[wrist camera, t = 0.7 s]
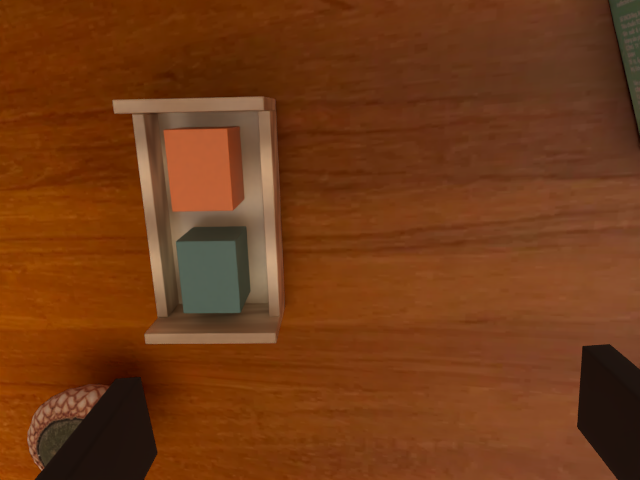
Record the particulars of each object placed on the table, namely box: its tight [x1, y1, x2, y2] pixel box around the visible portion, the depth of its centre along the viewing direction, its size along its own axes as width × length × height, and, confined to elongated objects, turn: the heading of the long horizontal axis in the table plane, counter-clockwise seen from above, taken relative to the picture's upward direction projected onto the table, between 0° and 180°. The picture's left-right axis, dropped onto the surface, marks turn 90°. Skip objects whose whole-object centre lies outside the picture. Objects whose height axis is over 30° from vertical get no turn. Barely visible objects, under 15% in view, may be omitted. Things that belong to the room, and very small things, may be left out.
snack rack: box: [112, 96, 285, 344], centre depth 32 cm, size 16×9×6 cm, turn 1°
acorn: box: [27, 383, 110, 470], centre depth 35 cm, size 8×8×10 cm
